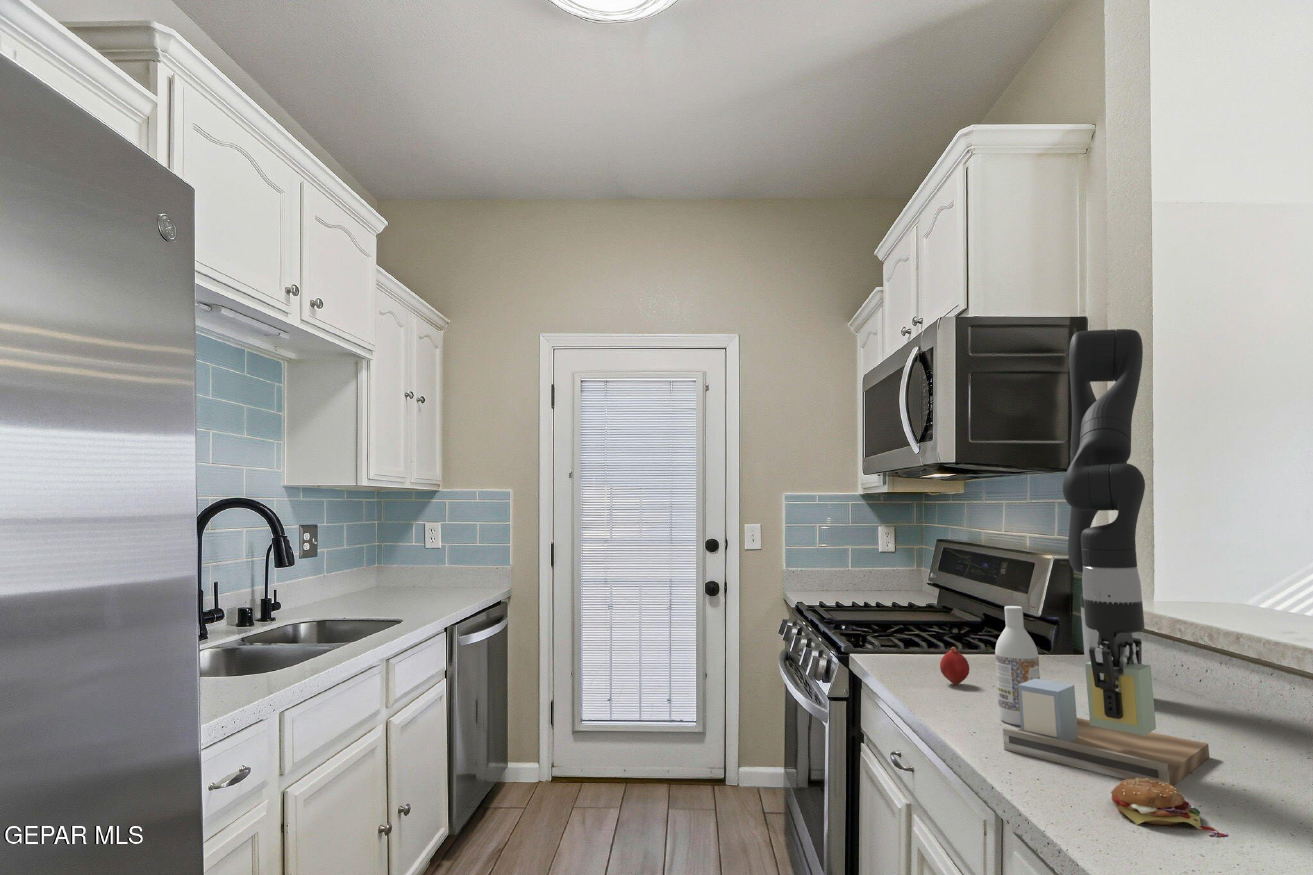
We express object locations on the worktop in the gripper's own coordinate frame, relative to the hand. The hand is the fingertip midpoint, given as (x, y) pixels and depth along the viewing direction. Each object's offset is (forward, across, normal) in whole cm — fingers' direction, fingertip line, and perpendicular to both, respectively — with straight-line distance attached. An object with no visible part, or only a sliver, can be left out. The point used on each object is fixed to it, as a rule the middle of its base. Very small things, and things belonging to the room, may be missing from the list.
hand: (1121, 713), depth 107 cm
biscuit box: (+5, -1, +10) cm, 11 cm away
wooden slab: (+7, +4, +4) cm, 9 cm away
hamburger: (+8, -16, -10) cm, 20 cm away
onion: (+8, +27, +41) cm, 50 cm away
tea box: (+2, 0, 0) cm, 2 cm away
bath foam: (+8, +11, +20) cm, 24 cm away
